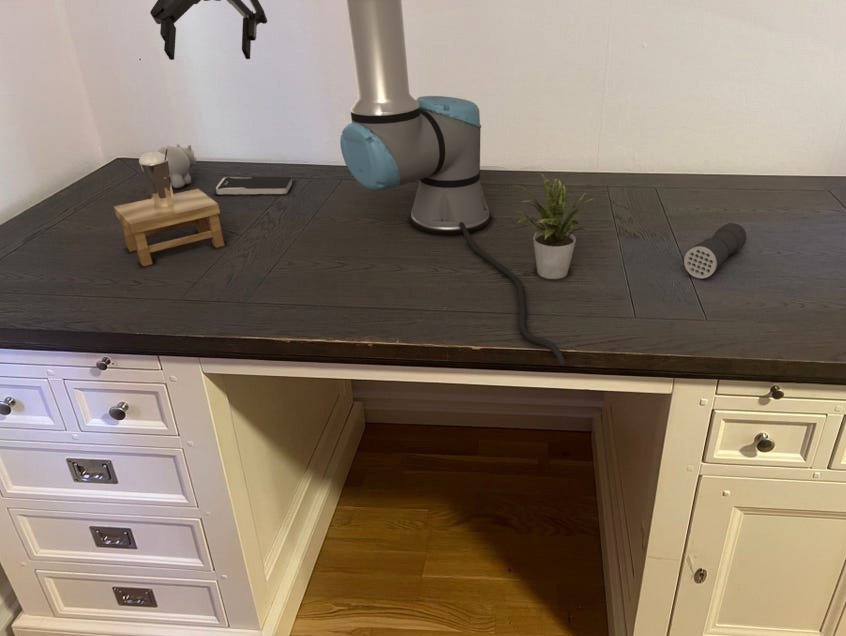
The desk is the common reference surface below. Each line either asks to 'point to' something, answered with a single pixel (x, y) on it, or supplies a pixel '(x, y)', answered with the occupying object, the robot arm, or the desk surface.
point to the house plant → (553, 233)
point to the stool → (169, 222)
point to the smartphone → (254, 185)
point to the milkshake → (158, 178)
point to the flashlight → (714, 250)
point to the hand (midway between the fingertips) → (207, 55)
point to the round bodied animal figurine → (179, 164)
